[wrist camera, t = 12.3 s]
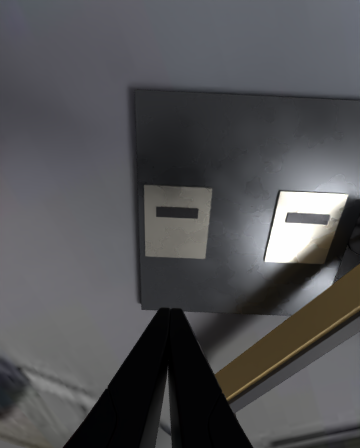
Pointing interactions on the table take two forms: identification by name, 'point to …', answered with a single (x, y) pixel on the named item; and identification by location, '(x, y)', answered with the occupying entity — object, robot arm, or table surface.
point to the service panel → (244, 199)
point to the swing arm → (294, 343)
